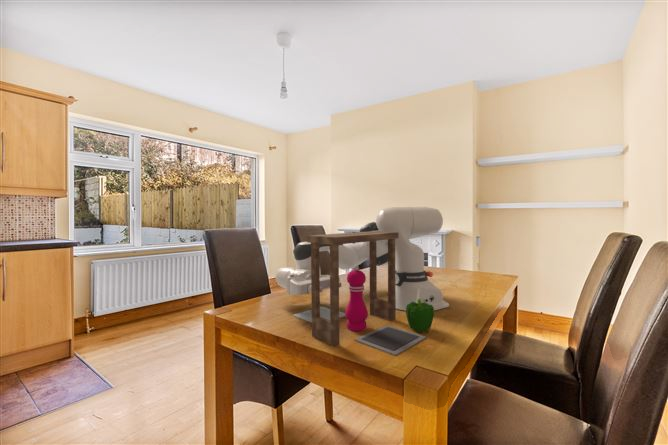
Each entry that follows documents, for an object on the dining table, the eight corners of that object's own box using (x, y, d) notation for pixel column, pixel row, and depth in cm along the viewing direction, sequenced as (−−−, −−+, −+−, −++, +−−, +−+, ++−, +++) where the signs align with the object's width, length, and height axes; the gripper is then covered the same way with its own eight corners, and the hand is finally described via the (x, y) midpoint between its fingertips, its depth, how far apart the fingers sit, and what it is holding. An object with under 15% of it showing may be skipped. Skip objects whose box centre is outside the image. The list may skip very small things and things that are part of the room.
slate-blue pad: (293, 315, 110) (293, 314, 110) (322, 307, 119) (322, 306, 119) (319, 325, 100) (319, 324, 100) (348, 315, 109) (348, 314, 109)
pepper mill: (366, 332, 93) (366, 267, 93) (343, 331, 95) (343, 266, 94) (368, 324, 100) (368, 263, 100) (347, 323, 102) (346, 263, 101)
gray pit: (354, 340, 88) (354, 338, 88) (386, 325, 99) (386, 324, 99) (395, 355, 78) (395, 354, 78) (426, 337, 89) (426, 336, 89)
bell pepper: (413, 323, 101) (412, 293, 101) (437, 328, 96) (437, 297, 96) (401, 330, 95) (401, 298, 95) (426, 336, 90) (426, 303, 89)
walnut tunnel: (308, 335, 91) (307, 235, 90) (371, 312, 112) (370, 231, 112) (336, 347, 83) (336, 237, 82) (398, 320, 104) (398, 232, 103)
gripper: (325, 285, 123) (350, 291, 113) (283, 294, 108) (308, 302, 99) (325, 269, 123) (350, 274, 113) (283, 277, 108) (308, 283, 98)
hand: (330, 287), depth 106 cm, fingers open, 8 cm apart
